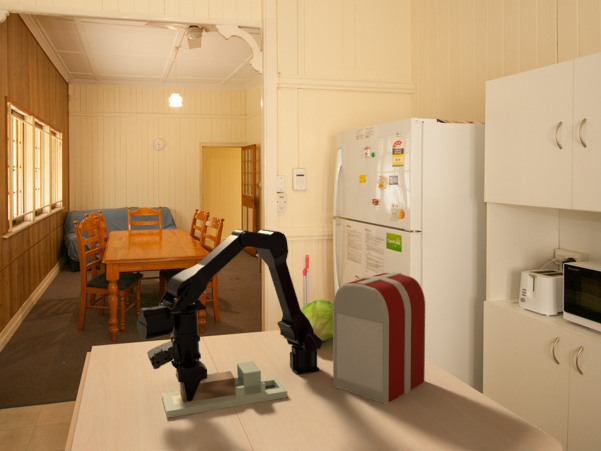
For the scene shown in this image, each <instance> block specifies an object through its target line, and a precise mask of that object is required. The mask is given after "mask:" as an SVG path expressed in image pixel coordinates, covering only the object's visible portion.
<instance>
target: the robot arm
mask: <svg viewBox="0 0 601 451" xmlns="http://www.w3.org/2000/svg"><path fill="white" fill-rule="evenodd" d="M247 247H248V248H254V249H256V251H257V254H258V255H259V257H260V259H261V260H263V262H264V263H265V264H266V265H267V267H268V270H269V273H270V277H271V281H272V283H273V287H274V290H275V293H276V296H277V299H278V300H277V301H278V303H279V306H280V309H281V313H282V317H281V320H280V321H277V326H278V327H279V328H278V329H279V330H280V331H279V332H280V333H279V335H281V336H283V338H284V339H285V340H286V342H287V344H288V345H290V346H291V349H290V350H291V351H290V352H289V367H290V368H291V369H292V370H293V372H295V374H297V375H300V374H306V373H312V372H318V371H321V370H320V368H319V366H318V350H321V348H322V345H323V344H322V343H323V341H322V340H321V339H320V338H319V337H318V336H317V335H316V334H315V333H314V330H313V327H312V325H311V323H310V321H309V320H308V318H307V317H306V316H305V315H304V313H303V312H302V311H301V309H302V308H301V307H300V303H299V300H298V299H299V298H298V296H297V293H296V289H295V286H294V283H293V279H292V276H291V273H290V269H289V267H288V263H287V262H288V260H287V259H288V255H289V245H288V238H287V237H286V235H285V234H284V233H283V232H281V231H277V230H270V229H264V228H263V229H261V230H259V231H258V232H255V231H249V230H245V229H240V228H239V229H238V228H237V229H235V230H233V231H232V232H231V234H230V235H229V236H228V237H227V238H225V239H224V240H223V241H222V242H221V243H219V245H217V246H216V247H215V248H214V249H213V250H211V251H210V252H209V253H208V254H207V255H206V256H205V257H204V258H203V259H201V260H200V261H199V262H198V263H197V264H195V265H193V266H191V267H188V268H186V269H184V270H182V271H180V272H178V273H177V274H175V275H173V276H172V277H170V279H169V280H168V282H167V288H166V290H165V292H164V293H163V295H162V296H161V298H160V300H159V302H158V306H152V307H143V308H142V307H141V308H140V309H139V310H140V311H139V315H138V317H137V321H136V329H137V332H138V336H139V338H140V340H142V341H147V340H151V339H157V338H162V337H165V336H166V337H167V336H169V335H170V334H171V335H170V340H169V341H167V342H163V343H161V344H158V346H156V347H153V348H151V349H149V350H148V351H147V353H146V354H147V357H148V359H149V361H150V364H151V365H152V368H153V369H154V370H159V369H160V368H161V367H162V366H164V365H166V364H168V363H171V365H172V367H173V368H174V369H176V370H175V371H176V372H175V377H176V379H177V381H178V383H179V384H180V383H183V384H184V389H185V393H186V397H187V401H192V400H193V398H194V395H195V393H196V391H197V388H198V386H199V384H200V382H201V380H203V379H206V378H207V374H208V369H207V367H206V365H205V363H204V362H202V361H201V359H202V354H201V352H200V342H201V335H200V334H199V315H198V311H203V310H206V309H207V308H208V307H207V306H206V305H205V304H203V302H202V301H201V300H200V297H201V296H202V295H203V294H204V293H205V291H206V290H207V288H208V286H209V283H210V281H211V280H212V278H214V277H215V276H216V275H217V274H218V273H219V272H220V271H222V269H224V267H226V266H227V265H228V264H229V263H230V262H232V260H234V259H235V258H236V257H238V255H239V254H240V253H242V251H244V250H245V249H246V248H247ZM174 300H176V301H174ZM197 359H199V361H198V360H197Z"/></svg>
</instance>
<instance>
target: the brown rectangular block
mask: <svg viewBox="0 0 601 451" xmlns="http://www.w3.org/2000/svg"><path fill="white" fill-rule="evenodd" d="M234 377H235V376H234V375H233V373H232V371H230V370H228V371H221V372H216V373H215V372H214V373H209V374H208V373H207V378H206V379H203V380H201V382H200V384H199V386H198V388H197V391H196V393H195V395H194V398H193V400H192V401H198V400H204V399H210V398H216V397H222V396H228V395H234V394H235V378H234ZM179 391H180V395H181V398H182V401H183V403H186V402H192V401H187V397H186V393H185V389H184V384H183V383H180V382H179Z"/></svg>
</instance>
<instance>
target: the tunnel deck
mask: <svg viewBox="0 0 601 451" xmlns="http://www.w3.org/2000/svg"><path fill="white" fill-rule="evenodd" d="M236 371H237V372H236V373H237V374H236V376H234V378H235V394H234V395H228V396H222V397H216V398H210V399H204V400H198V401H192V402H186V403H183V401H182V398H181V395H180V390H174V391H168V392H162V393H161V401H162V405H163V409H164V412H165V417H166V419H169V418H174V417H180V416H186V415H192V414H197V413H203V412H204V413H205V412H209V411H214V410H221V409H226V408H232V407H238V406H243V405H248V404H255V403H261V402H266V401H267V402H268V401H272V400H278V399H279V400H280V399H283V398H288V389H286V387H284V385H283V384H282V383H281V381H280V380H279V379H278V378H277V376H275V375H271V376H270V375H269V376H264V377H262V375H261V373H262V372H261V371H262V370H261V369H260V368H259V367H258V366H257V364H256V362H254V360H251V361H250V360H249V361H243V362H237V363H236Z"/></svg>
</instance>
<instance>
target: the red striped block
mask: <svg viewBox="0 0 601 451" xmlns="http://www.w3.org/2000/svg"><path fill="white" fill-rule="evenodd" d="M332 302H333V303H332V304H333V336H332V346H333V347H332V349H333V351H332V352H333V353H332V354H333V355H332V357H333V360H332V361H333V362H332V366H333V368H332V370H333V381H332V382H333V386H334V387H336V388H338V389H341V390H344V391H347V392H350V393H353V394H356V395H359V396H362V397H364V398H367V399H370V400H374V401H376V402H379V403H381V404H385V405H386V404H387V405H388V404H389V403H392V402H394V400H396V399H398V398H399V397H401V396H403V395H406V394H407V393H409V392H411V390H413V389H415V388H417V387H418V386H420V385H422V384H423V383H425V375H426V374H425V373H426V372H425V370H426V368H425V365H426V364H425V362H426V298H425V294H424V291H423V288H422V285H421V284H420V282H419V281H418V280H417V279H416V278H414V277H412V276H410V275H406V274H402V273H401V272H396V271H393V272H382V273H379V274H378V273H377V274H375V275H370V276H368V275H367V276H364V277H361V278H358V279H357V280H353V281H350V282H346V283H343V284H341V285H340V286H339V287H338V288H337V290H336V292H335V295H334V298H333V301H332Z"/></svg>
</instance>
